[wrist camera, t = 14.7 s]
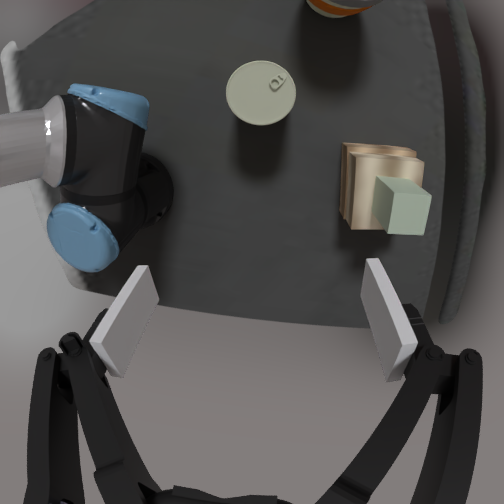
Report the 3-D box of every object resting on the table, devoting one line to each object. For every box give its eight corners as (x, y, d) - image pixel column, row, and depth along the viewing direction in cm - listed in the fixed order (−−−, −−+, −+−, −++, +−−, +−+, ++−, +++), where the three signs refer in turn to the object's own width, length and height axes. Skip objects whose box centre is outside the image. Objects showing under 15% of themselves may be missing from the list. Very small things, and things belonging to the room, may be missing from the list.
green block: (371, 211, 43) (387, 233, 36) (375, 175, 40) (394, 192, 33) (403, 213, 43) (423, 235, 36) (409, 178, 40) (431, 195, 33)
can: (302, 98, 43) (311, 98, 32) (260, 130, 46) (256, 139, 36) (267, 58, 39) (264, 46, 29) (225, 91, 43) (210, 90, 33)
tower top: (345, 218, 49) (351, 229, 45) (349, 151, 43) (356, 157, 39) (404, 218, 48) (414, 229, 44) (412, 156, 42) (424, 162, 38)
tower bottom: (338, 209, 53) (343, 219, 49) (341, 142, 46) (347, 146, 42) (399, 210, 52) (408, 219, 48) (406, 147, 45) (416, 151, 41)
